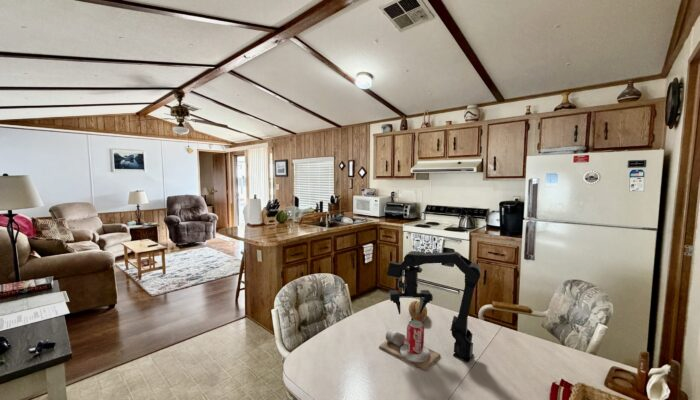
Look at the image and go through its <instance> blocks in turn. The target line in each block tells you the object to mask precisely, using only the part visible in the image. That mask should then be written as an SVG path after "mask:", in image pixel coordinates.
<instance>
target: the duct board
mask: <svg viewBox="0 0 700 400" xmlns="http://www.w3.org/2000/svg"><path fill="white" fill-rule="evenodd" d="M406 338H407V337H406V335H405V334H402V333H401V332H398V331H396V330H394V329H391V328H389V329H388V330H387V331H386V333H385V341H384V342H382V343H381V344H380V345H379V346H378V348H379V349H380V350H382V351H384V352H387V354H391V355H392V356H394V357H396V358H398V359H400V360H402V361H404V362H406V363H407V364H410V365H412V366H414V367H416V368H417V369H419V370H422V371H424V372H426V371H427V370H428V369H430V367H431V366H432V365H433V364H434V363H435V362H436V361H437V360H438V359H439V358H440V357H441V353H439V352H437V351H435V350H432V349H430V348H428V347H426V346H425V345H424V347H423V352H422V353H420V354H418V355H415V354H411V353H410V352H409V351H408V350H407V347H406Z"/></svg>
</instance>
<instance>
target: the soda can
mask: <svg viewBox="0 0 700 400" xmlns="http://www.w3.org/2000/svg"><path fill="white" fill-rule="evenodd" d="M423 325H424V323H423V321H422V322H420V321H417V320H413V319H412V320H409V322H408V324H407V326H406V337H405V338H406V347H407V350H408V351H409V352H410V353H411V354H415V355H418V354H420V353H422V352H423V347H424V346H425V345H424V343H425V342H424V341H425V328H424V326H423Z"/></svg>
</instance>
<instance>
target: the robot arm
mask: <svg viewBox="0 0 700 400" xmlns="http://www.w3.org/2000/svg"><path fill="white" fill-rule="evenodd" d="M427 264H454V265H455V266H456V268H458V269H459V270H460V271H461V273H463V274H464V289H463V292H462V293H463V294H462V298H461V302H460V306H459V311H458V314H457V316H456V315H453V318H452V322H451V325H450V326H451V327H450V329H449V330H450V332H451V336H452V338H453V339H454V342H453V352H454V353H453V355H452V356H453V357H455V358H457V359H460V360H462V361H464V362H466V363H469V362H470V361H471V360H472V358H473V357H475V354H474V353H473V351H474V350H473V349H474V343H473V340H472V339H473V333H472V331H470V330H469V327H468V326H469V325H468V324H469V322H468V321H469V318H468V316H469V314H470V313H469V312H470V309H471V308H470V307H471V304H472V299H473V294H474V291H475V289H476V286H477V284H478V282H479V280H480V278H481V273H482V268H481V266H480V264H478V263H476V262H472V261H471V260H470V259H468V258H467V257H465V256H463V255H462V254H461V253H460V252H458V251H453V252H433V253H432V252H430V253H425V252H421V251H417V250H416V251H414V250H411V251H409V252H408V253H406V254H405V256H403V261H402V262H395V261H390V262H388V267H387V270H386V271H387V272H386V275H387V277H389V278H393V279H394V278H395V279H398V281H397V288H399V289H401V290H402V291H401V292H399V291H398V290H397V289H395V290H394V289H392V290H390V289H389V291H388V295H387V296H388V299H389V300H390V302H393V304H395V305H396V308H397V313H398V315H401V301H400V300H401V299H403V298H408V299H409V298H419V302H420V305H419V314H421V312H422V311H423V309H424V307H425V306H426V305H427V304H429V303H430V302H432V301H433V299H434V297H433V293H431V292H430V290H429V289H423V290H422V289H420V292H418V287H419V285H418V275H419V274H420V273H422V272H423V269H422V267H421V266H422V265H427ZM402 277H403V278H404V279H403V280H399V279H401V278H402ZM400 298H401V299H400ZM426 307H427V306H426Z"/></svg>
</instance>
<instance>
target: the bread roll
mask: <svg viewBox="0 0 700 400" xmlns="http://www.w3.org/2000/svg"><path fill="white" fill-rule="evenodd" d="M419 305H420V300H413V301H411V302H410V304H409V305H408V313H409V315H410V317H411V319H412V320H417V321H420V322H422V323H423V322H424V321H425V319H426V318H427V315H428V309H427V306H425V307H424V309H423V311H422V312H421V314H419Z"/></svg>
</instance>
